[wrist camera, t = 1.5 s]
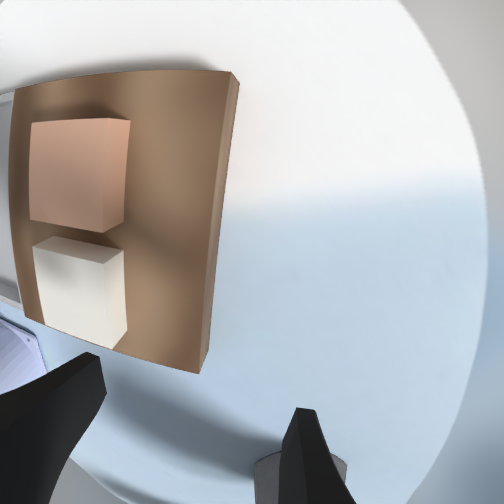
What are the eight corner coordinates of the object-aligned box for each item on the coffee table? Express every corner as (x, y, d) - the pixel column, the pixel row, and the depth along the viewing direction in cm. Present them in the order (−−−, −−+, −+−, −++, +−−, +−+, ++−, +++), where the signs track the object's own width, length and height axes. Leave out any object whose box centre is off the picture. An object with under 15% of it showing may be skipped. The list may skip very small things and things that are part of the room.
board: (44, 302, 20) (25, 316, 18) (39, 91, 15) (15, 89, 12) (208, 349, 19) (198, 374, 17) (239, 83, 14) (231, 71, 11)
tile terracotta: (53, 210, 15) (30, 219, 13) (56, 122, 13) (31, 122, 11) (123, 221, 14) (102, 232, 12) (130, 120, 13) (108, 118, 11)
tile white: (62, 309, 17) (45, 324, 15) (54, 235, 15) (32, 246, 13) (127, 330, 16) (111, 349, 15) (123, 250, 15) (103, 264, 13)
